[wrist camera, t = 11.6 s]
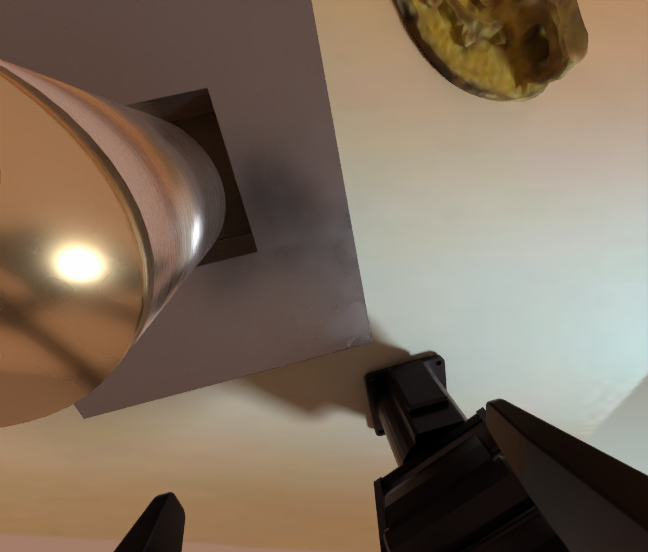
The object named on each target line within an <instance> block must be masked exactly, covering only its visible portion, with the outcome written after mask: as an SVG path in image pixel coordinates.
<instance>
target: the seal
mask: <svg viewBox="0 0 648 552" xmlns="http://www.w3.org/2000/svg"><path fill="white" fill-rule="evenodd" d="M396 1H397V4H398V7H399V10H400V11H401V14H402V17H403V19H404V21H405V23H406V24H407V26H408V28H409V31H410V33H411V35H412V36H413V37H414V38H415V39H416V40H417V42H418V44H419V45H420V47H421V48H422V50H423V52H424V53H425V55H426V56H427V58H428V59H429V60H430V62H431V63H432V64H433V65H434V66H435V67H436V68H437V69H438V70H439V71H440V72H441V73H442V74H443V75H444V76H445V77H446V79H447V80H448V81H449V82H451V83H452V84H454V85H455V86H457V87H458V88H460V89H462V90H464V91H466V92H468V93H470V94H473V95H476V96H478V97H483V98H486V99H489V100H495V101H505V102H518V101H525V100H528V99H531V98H534V97H536V96H538V95H539V94H541V93H542V92H543V91H544V90H545V88H546V87H547V85H548V84H549V83H550V82H553V81H555V80H558V79H561V78H562V77H564V76H565V75H566V74H568V73H569V72H570V71H571V70H573V69H574V68H575V67H576V66H577V65H578V64H579V63H580V62H581V61H582V59H583V58H584V57H585V56H586V54H587V53H588V47H587V46H588V33H587V30H586V28H585V26H584V23H583V20H582V17H581V14H580V10H579V6H578V3H577V0H396Z"/></svg>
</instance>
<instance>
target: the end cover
mask: <svg viewBox="0 0 648 552" xmlns="http://www.w3.org/2000/svg"><path fill="white" fill-rule="evenodd" d="M225 212H226V201H225V193H224V188H223V184H222V181H221V178H220V176H219V173H218V171H217V169H216V167H215V165H214V163H213V162H212V160H211V159H210V157H209V156H208V154H207V153H206V152H205V151H204V149H203V148H202V147H201V146H200V145H199V144H198V143H197V142H196V141H195V140H194V139H193V138H192V137H191V136H189V135H188V134H187V133H185V132H184V131H183V130H181V129H180V128H178V127H176V126H175V125H173V124H171V123H169V122H167V121H165V120H162V119H160V118H157V117H155V116H152V115H149V114H147V113H144V112H141V111H138V110H136V109H133V108H130V107H128V106H125V105H122V104H119V103H117V102H114V101H111V100H109V99H106V98H103V97H101V96H98V95H95V94H92V93H90V92H87V91H84V90H82V89H79V88H76V87H74V86H71V85H68V84H65V83H63V82H60V81H57V80H55V79H52V78H49V77H47V76H44V75H41V74H38V73H36V72H33V71H30V70H28V69H25V68H22V67H19V66H17V65H14V64H11V63H9V62H6V61H3V60H1V59H0V427H6V426H11V425H16V424H21V423H25V422H29V421H32V420H36V419H39V418H42V417H45V416H48V415H51V414H53V413H55V412H57V411H60V410H62V409H64V408H66V407H68V406H70V405H72V404H73V403H75V402H77V401H78V400H80V399H82V398H83V397H85V396H86V395H88V394H89V393H90V392H91V391H93V390H94V389H95V388H96V387H97V386H99V385H100V384H101V383H102V382H103V381H104V380H105V379H106V378H107V377H108V376H109V375H110V373H111V372H112V371H113V370H114V369H115V368H116V367H117V365H118V364H119V363H120V361H121V360H122V359H123V358H124V356H125V355H126V354H127V353H128V351H129V350H130V349H131V348H132V346H133V345H134V344H135V343H136V341H137V340H138V339H139V338H140V336H141V335H142V334H143V333H144V331H145V330H146V329H147V328H148V326H149V325H150V324H151V323H152V321H153V320H154V319H155V317H156V316H157V315H158V314H159V312H160V311H161V310H162V309H163V307H164V306H165V305H166V304H167V302H168V301H169V300H170V299H171V297H172V296H173V295H174V294H175V292H176V291H177V290H178V289H179V287H180V286H181V285H182V284H183V282H184V281H185V280H186V279H187V277H188V276H189V275H190V273H191V272H192V271H193V270H194V268H195V267H196V266H197V265H198V263H199V262H200V261H201V260H202V258H203V257H204V256H205V255H206V253H207V252H208V251H209V250H210V248H211V247H212V246H213V244H214V243H215V241H216V240H217V238H218V236H219V234H220V232H221V230H222V226H223V223H224V219H225Z"/></svg>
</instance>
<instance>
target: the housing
mask: <svg viewBox="0 0 648 552" xmlns="http://www.w3.org/2000/svg"><path fill="white" fill-rule="evenodd" d="M0 59H1V60H3V61H6V62H9V63H11V64H14V65H17V66H19V67H22V68H25V69H28V70H30V71H33V72H36V73H38V74H41V75H44V76H47V77H49V78H52V79H55V80H57V81H60V82H63V83H65V84H68V85H71V86H74V87H76V88H79V89H82V90H84V91H87V92H90V93H92V94H95V95H98V96H101V97H103V98H106V99H109V100H111V101H114V102H117V103H119V104H122V105H125V106H128V107H130V108H133V109H136V110H138V111H141V112H144V113H147V114H149V115H152V116H155V117H157V118H160V119H162V120H165V121H167V122H170V121H175V120H179V119H184V118H188V117H193V116H198V115H202V114H207V113H212V112H215V114H216V117H217V120H218V124H219V127H220V130H221V133H222V137H223V140H224V143H225V146H226V150H227V153H228V156H229V159H230V163H231V166H232V169H233V172H234V176H235V179H236V182H237V185H238V188H239V192H240V195H241V198H242V201H243V205H244V208H245V211H246V214H247V218H248V221H249V224H250V227H251V231H252V233H248V234H244V235H240V236H235V237H231V238H227V239H223V240H219V241H215V243H214V244H213V246H212V247H211V248H210V250H209V251H208V252H207V253H206V255H205V256H204V257H203V258H202V260H201V261H200V262H199V263H198V265H197V266H196V267H195V268H194V270H193V271H192V272H191V273H190V275H189V276H188V277H187V279H186V280H185V281H184V282H183V284H182V285H181V286H180V287H179V289H178V290H177V291H176V292H175V294H174V295H173V296H172V297H171V299H170V300H169V301H168V302H167V304H166V305H165V306H164V307H163V309H162V310H161V311H160V312H159V314H158V315H157V316H156V317H155V319H154V320H153V321H152V323H151V324H150V325H149V326H148V328H147V329H146V330H145V331H144V333H143V334H142V335H141V336H140V338H139V339H138V340H137V341H136V343H135V344H134V345H133V346H132V348H131V349H130V350H129V351H128V353H127V354H126V355H125V356H124V358H123V359H122V360H121V361H120V363H119V364H118V365H117V367H116V368H115V369H114V370H113V371H112V372H111V373H110V375H109V376H108V377H107V378H106V379H105V380H104V381H103V382H102V383H101V384H100V385H99V386H97V387H96V388H95V389H94V390H93V391H91V392H90V393H89V394H88V395H86V396H85V397H83V398H82V399H80V400H78V401H77V402H75V403H73V404H74V405H75V407H76V408H77V409H78V411H79V412H80V414H81V415H82V417H83V418H84V419H85V418H89V417H93V416H96V415H100V414H104V413H108V412H111V411H115V410H119V409H123V408H126V407H130V406H134V405H138V404H141V403H145V402H149V401H153V400H157V399H160V398H164V397H168V396H172V395H175V394H179V393H183V392H187V391H190V390H194V389H198V388H202V387H205V386H209V385H213V384H217V383H221V382H224V381H228V380H232V379H236V378H239V377H243V376H247V375H251V374H254V373H258V372H262V371H266V370H269V369H273V368H277V367H281V366H285V365H288V364H292V363H296V362H300V361H303V360H307V359H311V358H315V357H318V356H322V355H326V354H330V353H334V352H337V351H341V350H345V349H349V348H352V347H356V346H360V345H364V344H367V343H371V342H372V338H371V332H370V327H369V321H368V315H367V310H366V304H365V299H364V293H363V287H362V282H361V276H360V271H359V265H358V259H357V254H356V248H355V243H354V237H353V231H352V226H351V220H350V215H349V209H348V203H347V198H346V192H345V187H344V181H343V175H342V170H341V164H340V159H339V153H338V147H337V142H336V136H335V130H334V125H333V119H332V114H331V108H330V102H329V97H328V91H327V86H326V80H325V74H324V69H323V63H322V58H321V52H320V46H319V41H318V35H317V30H316V24H315V18H314V13H313V7H312V2H311V0H0Z"/></svg>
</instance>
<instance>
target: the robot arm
mask: <svg viewBox="0 0 648 552" xmlns="http://www.w3.org/2000/svg"><path fill="white" fill-rule="evenodd" d="M438 360H439V361H438ZM437 361H438V362H437ZM436 362H437V363H436ZM370 379H373V380H371V381H369V380H370ZM364 381H365V386H366V390H367V395H368V400H369V405H370V410H371V415H372V420H373V425H374V430H375V433H376V435H378V436H383V435H386V436H387V439H388V441H389V444H390V447H391V449H392V452H393V454H394V457H395V459H396V462H397V464H398V468H396V469H395V470H393V471H392V472H390V473H389V474H387V475H386V476H384V477H383V478H381V477H380V478H379V479H377V480H376V481H374V490H375V500H376V510H377V519H378V528H379V538H380V546H381V552H648V475H646V474H644V473H642V472H640V471H638V470H636V469H634V468H632V467H631V466H629V465H627V464H625V463H623V462H621V461H619V460H617V459H615V458H614V457H612V456H609V455H608V454H606V453H604V452H602V451H600V450H598V449H596V448H595V447H593V446H591V445H589V444H587V443H585V442H583V441H581V440H579V439H577V438H576V437H574V436H572V435H570V434H568V433H566V432H564V431H562V430H560V429H559V428H557V427H555V426H553V425H551V424H549V423H547V422H545V421H543V420H541V419H540V418H538V417H536V416H534V415H532V414H530V413H528V412H526V411H524V410H522V409H521V408H519V407H517V406H515V405H513V404H511V403H509V402H507V401H505V400H503V399H495V400H492V401H488V402H487V404H486V410H485V409H484V408H483V407H482V408H481V409H479V410H478V411H476V414H475V415H474V416H472V417H471V418H469V419H467V418H466V417H465V415H464V414H463V412H462V411H461V410H460V408H459V407H458V406H457V404H456V403H455V402H454V400H453V399H452V398H451V396H450V395H449V393H448V392H447V388H446V374H445V361H444V359H443V358H442V357H441V356H440V355H434V356H430V357H427V358H423V359H419V360H415V361H412V362H408V363H404V364H401V365H397V366H393V367H390V368H386V369H382V370H379V371H375V372H371V373H368V374H367V375H366V376H365V377H364ZM184 525H185V512H184V509H183V507H182V505H181V504H180V502H179V501H178V499H177V497H176V496H175V494H174V493H172V492H168V493H165V494H161V495H158V496H156V497H155V498H154V499H153V500H152V502H151V503H150V504H149V506H148V507H147V508H146V510H145V511H144V512H143V513H142V515H141V516H140V517H139V519H138V520H137V521H136V523H135V524H134V525H133V527H132V528H131V529H130V531H129V532H128V533H127V535H126V536H125V537H124V539H123V540H122V541H121V543H120V544H119V545H118V547H117V548H116V549H115V551H114V552H181V551H182V543H183V534H184Z"/></svg>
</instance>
